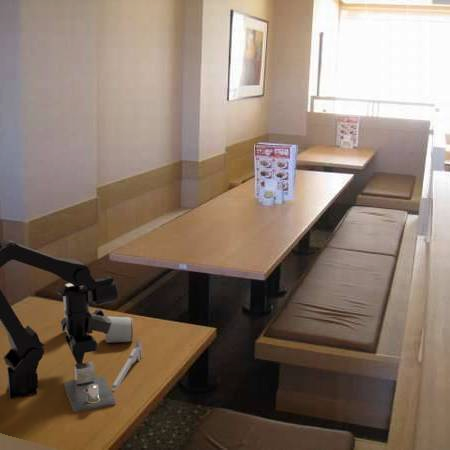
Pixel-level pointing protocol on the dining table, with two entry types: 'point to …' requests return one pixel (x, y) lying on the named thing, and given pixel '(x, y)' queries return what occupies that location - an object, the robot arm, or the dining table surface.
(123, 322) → the ceramic mug
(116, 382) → the caliper
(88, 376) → the block
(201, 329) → the dining table surface
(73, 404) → the plate
